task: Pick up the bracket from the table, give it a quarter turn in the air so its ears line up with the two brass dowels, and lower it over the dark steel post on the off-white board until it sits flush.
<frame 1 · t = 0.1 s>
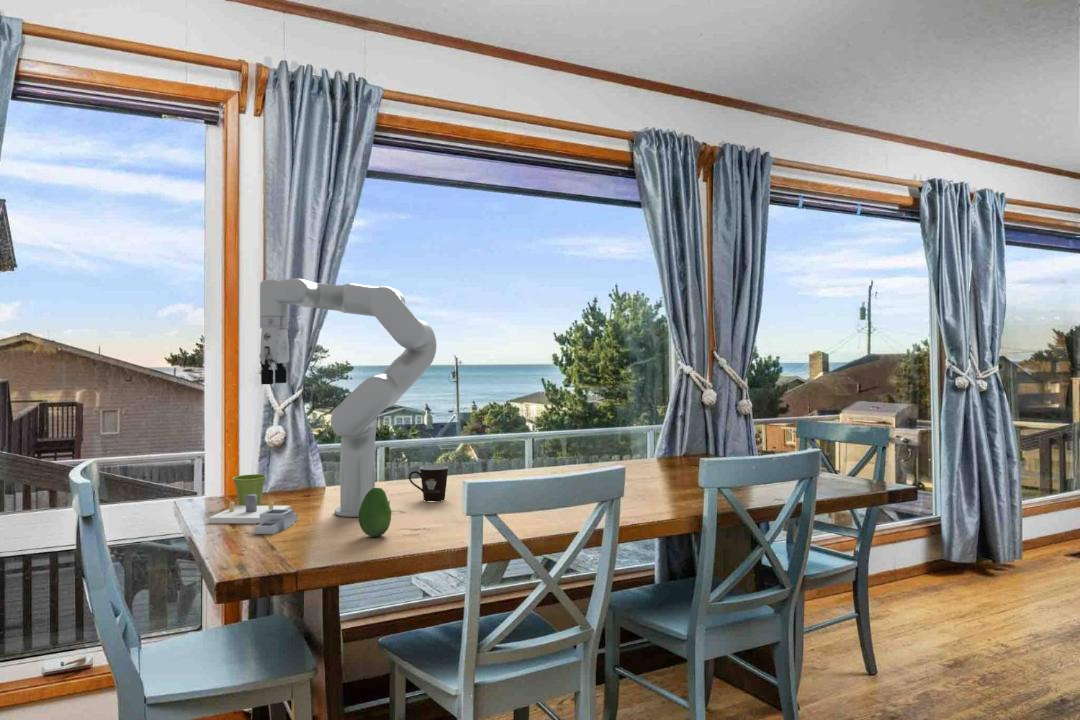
hand: (274, 383, 208), 37 cm above the table, tool pointing down, fingers open, 9 cm apart
avocado: (374, 537, 180), on the table
plant pot: (249, 506, 217), on the table
coffee mug: (430, 500, 227), on the table
bracket: (276, 527, 190), on the table
post block: (251, 516, 202), on the table
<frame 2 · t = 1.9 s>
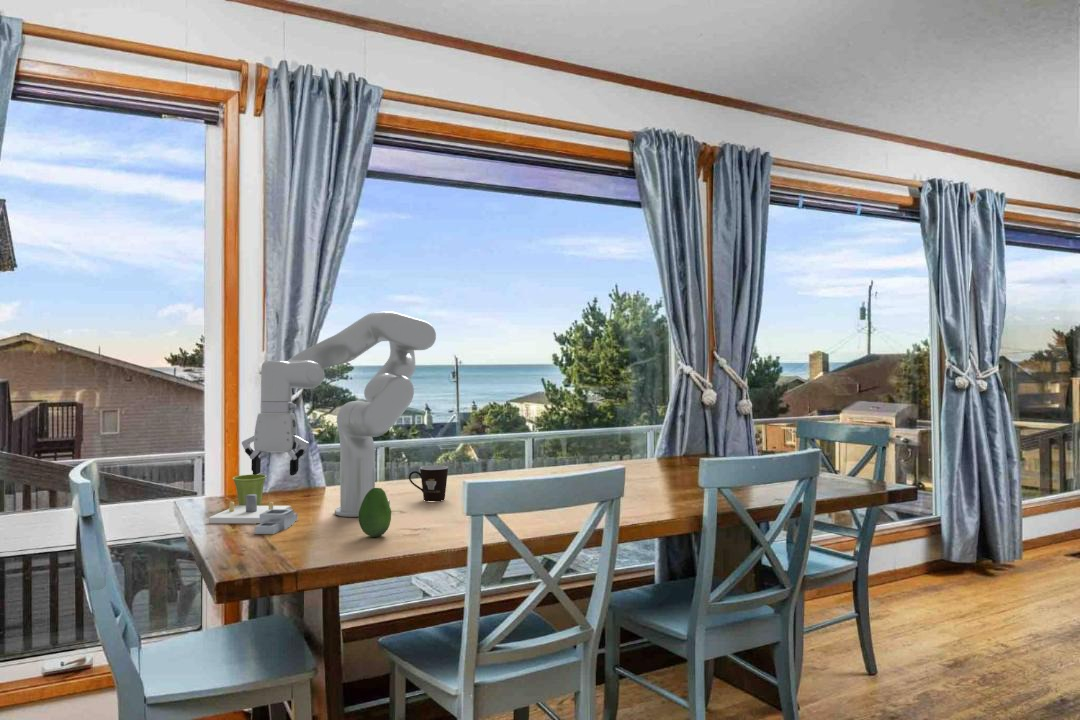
hand: (274, 474, 189), 14 cm above the table, tool pointing down, fingers open, 9 cm apart
nothing on the table moved.
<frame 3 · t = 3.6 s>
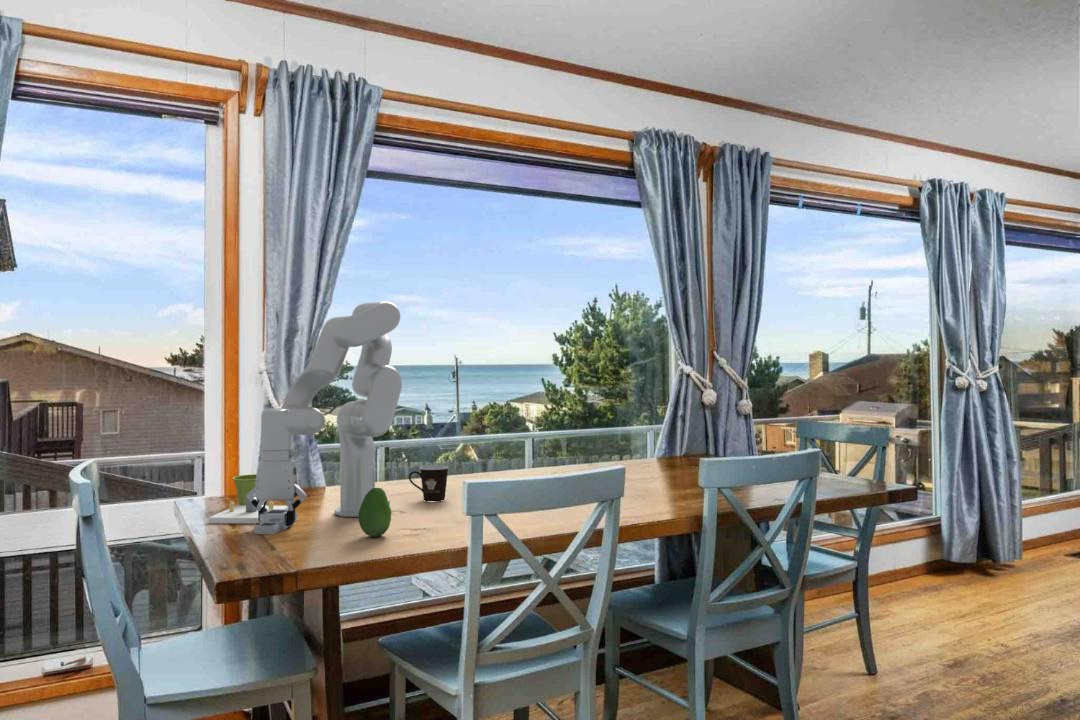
hand: (276, 524, 190), 1 cm above the table, tool pointing down, fingers closed on bracket, 6 cm apart
bracket: (276, 527, 190), on the table, touching gripper
everything else where it was.
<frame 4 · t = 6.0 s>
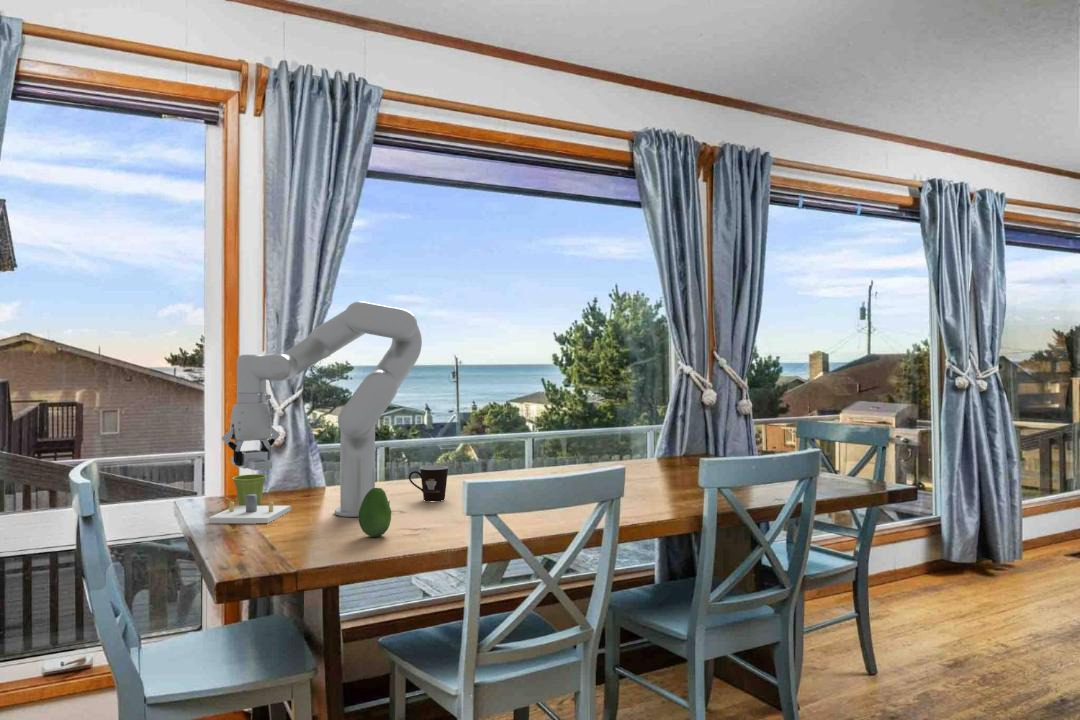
hand: (251, 463, 202), 15 cm above the table, tool pointing down, fingers closed on bracket, 6 cm apart
bracket: (251, 466, 202), point 14 cm above the table, touching gripper
everything else where it was.
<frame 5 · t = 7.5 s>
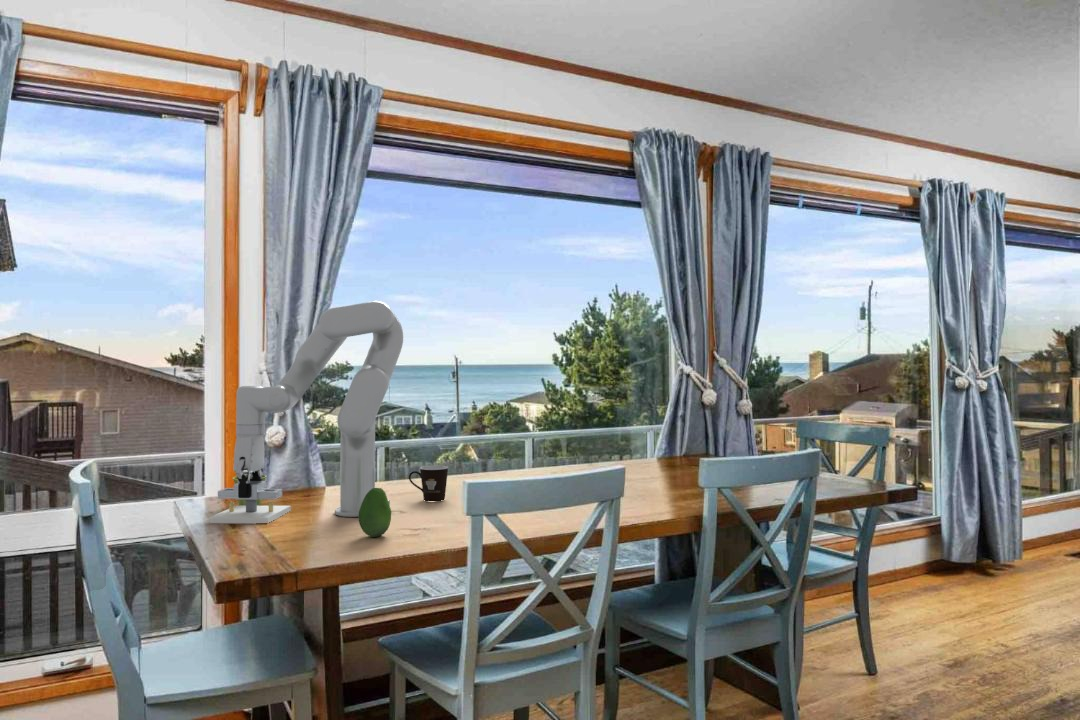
hand: (250, 494, 202), 6 cm above the table, tool pointing down, fingers closed on bracket, 6 cm apart
bracket: (250, 497, 202), point 5 cm above the table, touching gripper
everything else where it was.
when the fingers open (3 cm above the table, at t = 8.5 s): bracket drops 1 cm, resting on post block.
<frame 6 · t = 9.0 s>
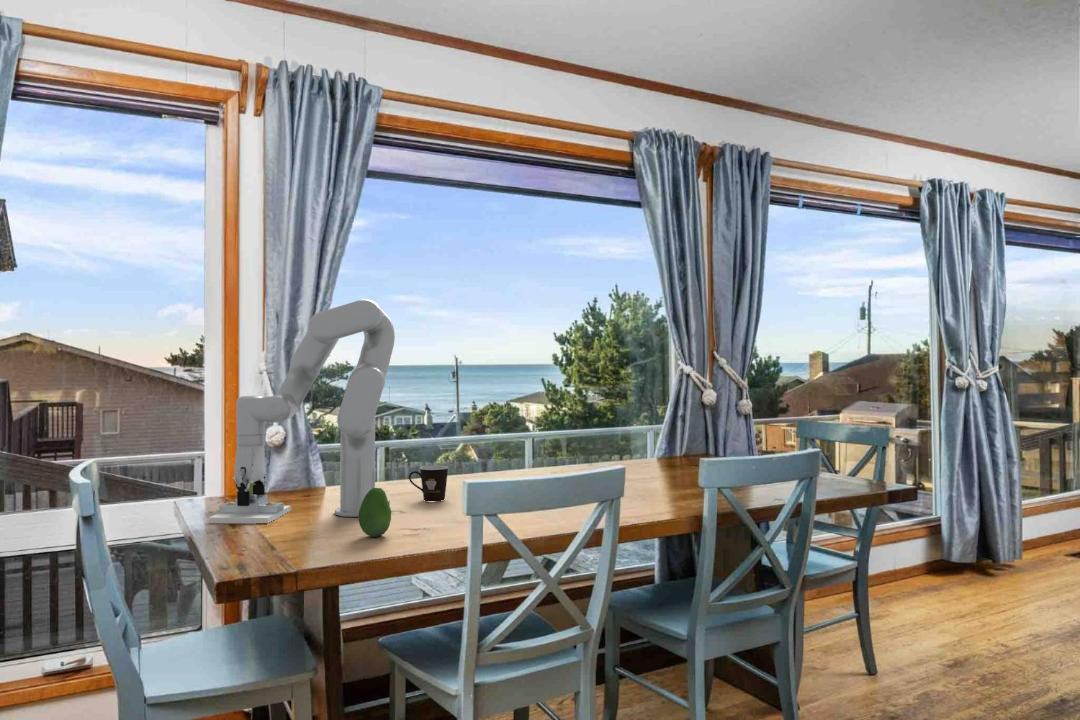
hand: (251, 502, 202), 4 cm above the table, tool pointing down, fingers open, 9 cm apart
bracket: (251, 511, 202), point 1 cm above the table, touching post block
everything else where it was.
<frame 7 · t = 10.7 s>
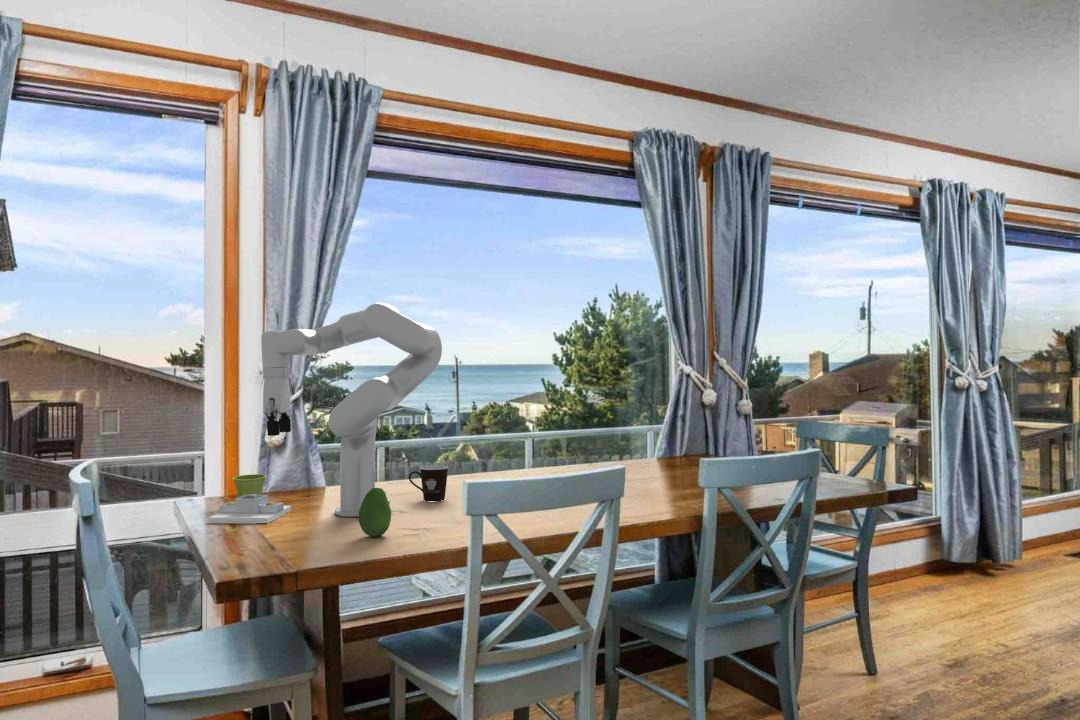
hand: (279, 433, 209), 22 cm above the table, tool pointing down, fingers open, 9 cm apart
nothing on the table moved.
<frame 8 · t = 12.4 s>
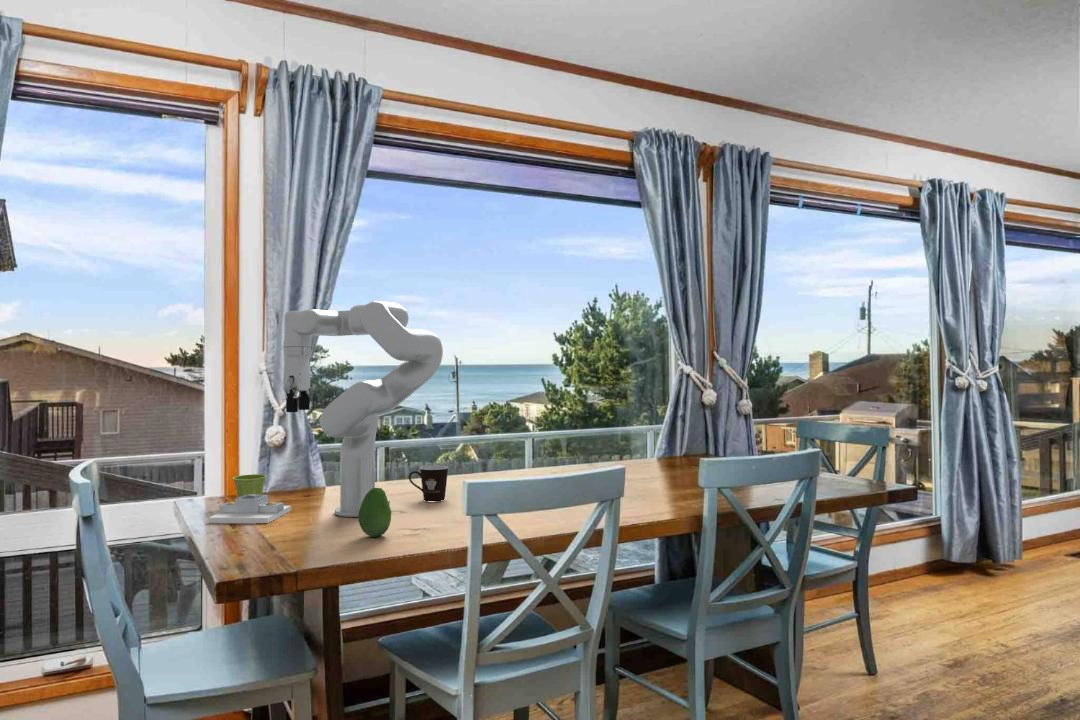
hand: (298, 410, 216), 28 cm above the table, tool pointing down, fingers open, 9 cm apart
nothing on the table moved.
at the end: bracket 0.1 cm from the post block (horizontally); bracket point 1.5 cm above the table; bracket tilted 0° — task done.
